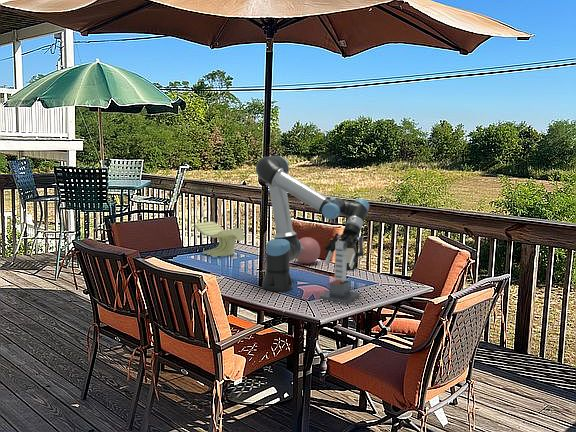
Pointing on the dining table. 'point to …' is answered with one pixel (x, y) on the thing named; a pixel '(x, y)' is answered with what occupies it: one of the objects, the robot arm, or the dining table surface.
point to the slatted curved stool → (220, 238)
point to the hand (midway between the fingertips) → (338, 265)
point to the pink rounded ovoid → (308, 250)
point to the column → (340, 261)
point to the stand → (340, 293)
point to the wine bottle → (350, 253)
